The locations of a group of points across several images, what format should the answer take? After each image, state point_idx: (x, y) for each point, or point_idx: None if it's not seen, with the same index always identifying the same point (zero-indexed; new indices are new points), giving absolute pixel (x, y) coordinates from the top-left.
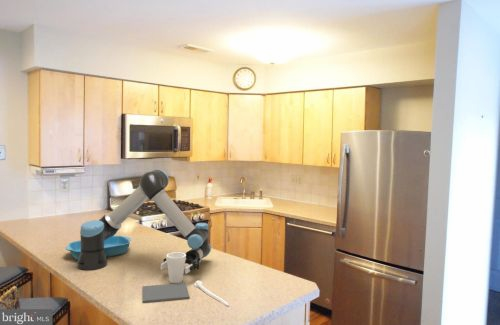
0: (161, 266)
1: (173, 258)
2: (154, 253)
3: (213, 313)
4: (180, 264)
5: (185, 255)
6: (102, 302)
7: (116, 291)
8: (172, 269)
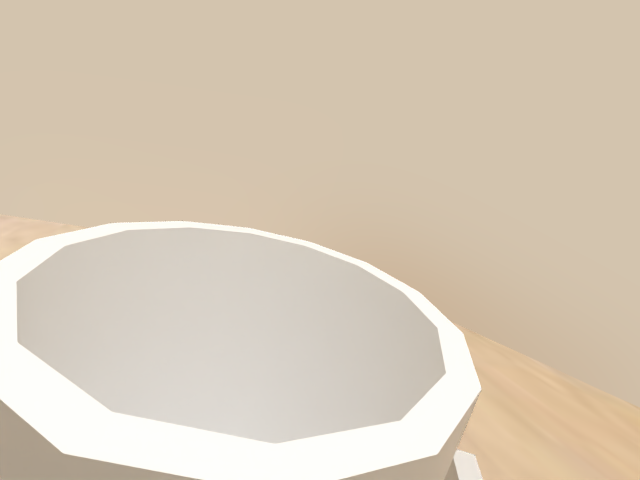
0: (446, 475)
1: (268, 235)
2: None
3: (19, 235)
4: (148, 331)
5: (21, 251)
6: (466, 328)
7: (521, 399)
8: (254, 391)
